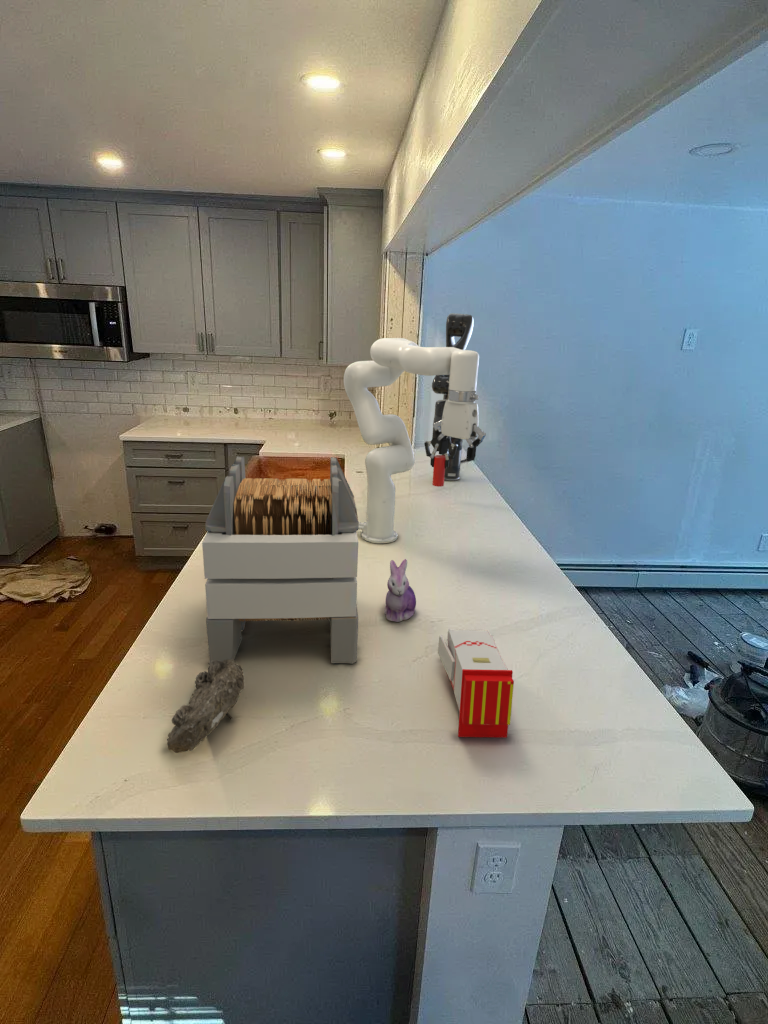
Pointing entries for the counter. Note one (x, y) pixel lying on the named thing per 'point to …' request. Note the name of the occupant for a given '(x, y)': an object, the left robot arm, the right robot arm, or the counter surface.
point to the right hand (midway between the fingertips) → (439, 467)
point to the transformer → (281, 558)
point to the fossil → (206, 705)
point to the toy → (478, 682)
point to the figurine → (399, 594)
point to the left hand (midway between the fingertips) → (456, 457)
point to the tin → (438, 470)
